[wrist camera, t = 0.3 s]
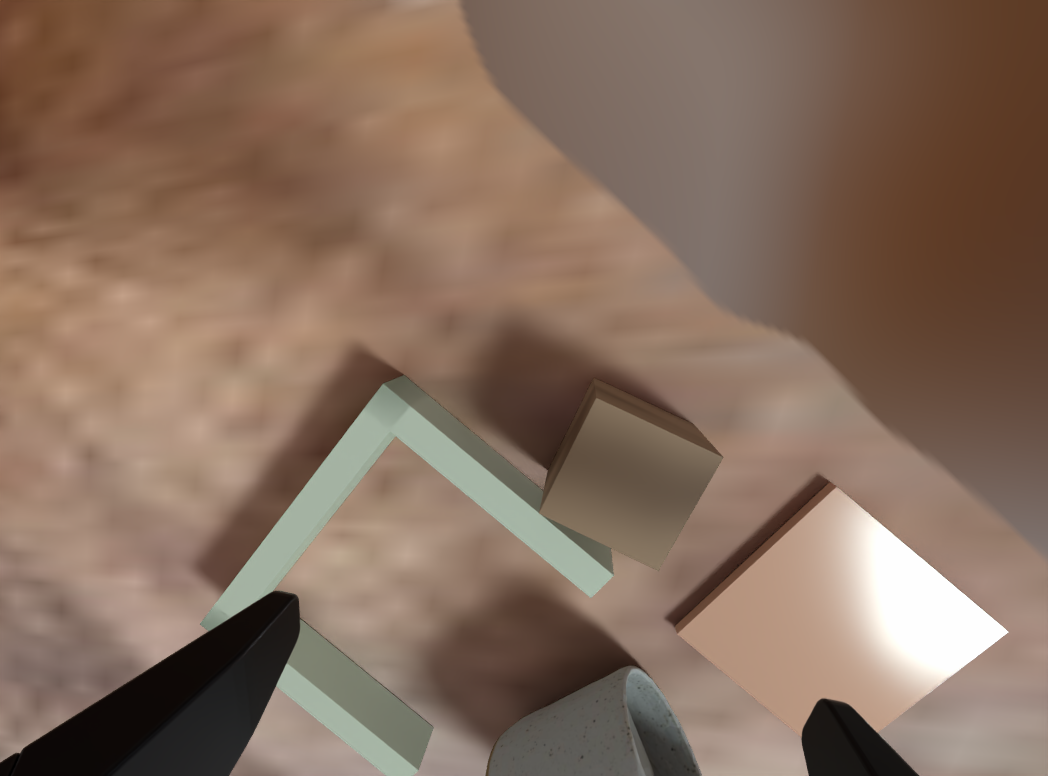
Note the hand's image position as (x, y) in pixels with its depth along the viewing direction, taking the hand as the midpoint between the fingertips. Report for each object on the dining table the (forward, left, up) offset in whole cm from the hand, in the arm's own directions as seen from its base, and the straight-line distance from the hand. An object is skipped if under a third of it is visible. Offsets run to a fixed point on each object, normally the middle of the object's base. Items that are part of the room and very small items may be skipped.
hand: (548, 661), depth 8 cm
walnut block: (+1, -2, -15) cm, 15 cm away
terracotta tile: (+1, -15, -15) cm, 21 cm away
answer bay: (-11, +1, -15) cm, 19 cm away
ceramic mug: (-11, -12, -15) cm, 23 cm away
